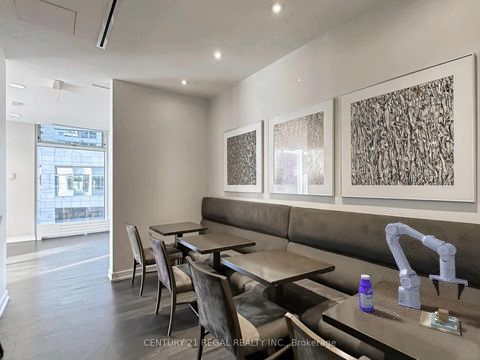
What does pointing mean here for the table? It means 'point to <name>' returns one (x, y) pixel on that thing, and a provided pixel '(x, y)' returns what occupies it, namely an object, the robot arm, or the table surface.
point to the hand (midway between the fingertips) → (448, 297)
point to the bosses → (437, 318)
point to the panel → (451, 323)
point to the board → (426, 322)
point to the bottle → (366, 294)
